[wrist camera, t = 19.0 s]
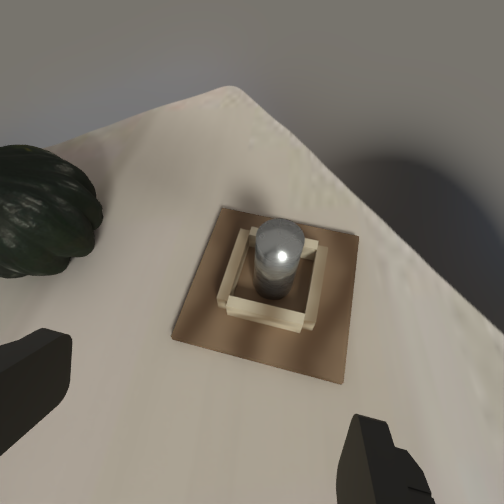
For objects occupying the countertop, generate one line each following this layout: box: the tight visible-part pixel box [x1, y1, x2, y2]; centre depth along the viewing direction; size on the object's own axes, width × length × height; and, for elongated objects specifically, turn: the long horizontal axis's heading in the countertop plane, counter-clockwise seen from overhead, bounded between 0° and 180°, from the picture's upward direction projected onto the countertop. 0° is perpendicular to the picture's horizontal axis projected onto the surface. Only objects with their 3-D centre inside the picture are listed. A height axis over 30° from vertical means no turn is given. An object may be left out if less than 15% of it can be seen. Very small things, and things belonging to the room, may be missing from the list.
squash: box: [0, 145, 103, 278], centre depth 37 cm, size 14×15×15 cm
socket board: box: [171, 208, 359, 384], centre depth 38 cm, size 18×18×4 cm
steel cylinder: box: [253, 218, 305, 300], centre depth 34 cm, size 4×4×9 cm
